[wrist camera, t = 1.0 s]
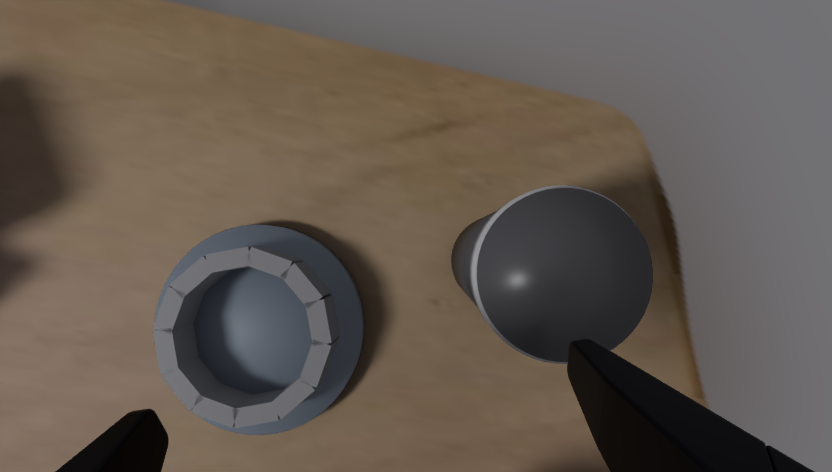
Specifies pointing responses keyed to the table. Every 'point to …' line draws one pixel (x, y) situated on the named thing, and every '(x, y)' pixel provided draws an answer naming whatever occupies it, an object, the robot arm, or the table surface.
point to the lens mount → (258, 329)
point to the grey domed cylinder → (556, 271)
